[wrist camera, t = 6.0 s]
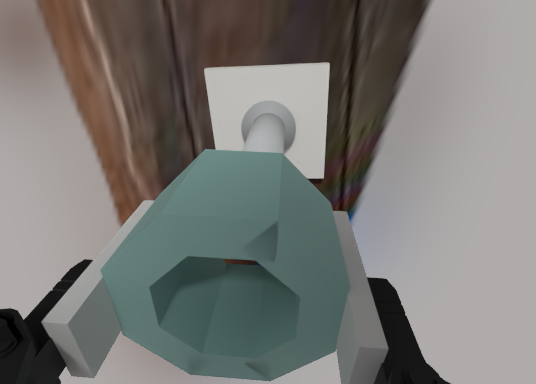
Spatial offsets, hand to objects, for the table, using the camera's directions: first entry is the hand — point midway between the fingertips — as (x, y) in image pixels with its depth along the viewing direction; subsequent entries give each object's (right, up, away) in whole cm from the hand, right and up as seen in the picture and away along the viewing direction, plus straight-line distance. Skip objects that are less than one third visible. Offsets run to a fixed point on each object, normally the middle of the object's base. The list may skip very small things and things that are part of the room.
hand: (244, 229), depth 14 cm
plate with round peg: (+1, +8, +15) cm, 17 cm away
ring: (0, 0, 0) cm, 0 cm away
